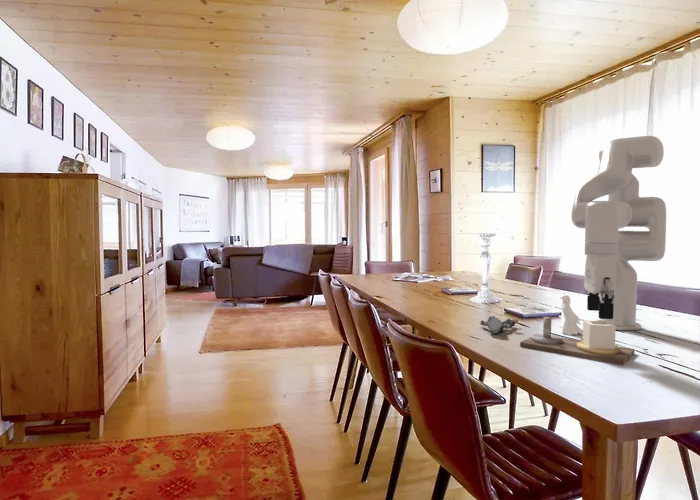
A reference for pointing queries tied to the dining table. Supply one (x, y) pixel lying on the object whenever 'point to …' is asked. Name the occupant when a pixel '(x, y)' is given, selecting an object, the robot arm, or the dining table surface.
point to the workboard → (574, 347)
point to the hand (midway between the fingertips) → (599, 314)
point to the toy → (498, 324)
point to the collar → (599, 334)
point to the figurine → (570, 318)
